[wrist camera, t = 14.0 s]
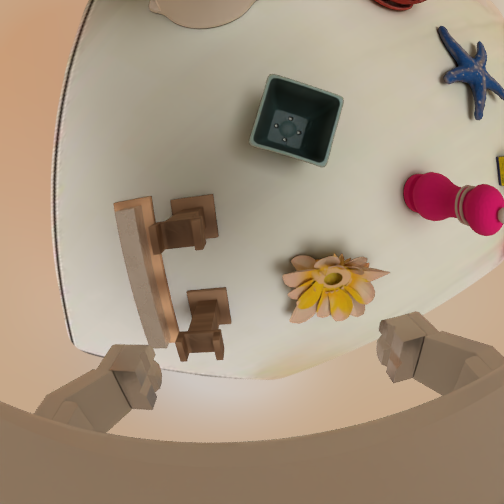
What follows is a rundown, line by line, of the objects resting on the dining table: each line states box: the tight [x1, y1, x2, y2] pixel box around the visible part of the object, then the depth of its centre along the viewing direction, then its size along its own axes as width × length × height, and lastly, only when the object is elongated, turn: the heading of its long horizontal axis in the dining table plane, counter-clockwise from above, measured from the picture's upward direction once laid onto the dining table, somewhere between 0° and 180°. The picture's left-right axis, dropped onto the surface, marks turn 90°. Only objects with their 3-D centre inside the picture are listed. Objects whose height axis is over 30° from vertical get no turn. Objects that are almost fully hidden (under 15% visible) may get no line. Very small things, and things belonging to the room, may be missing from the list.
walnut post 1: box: [148, 194, 219, 255], centre depth 33 cm, size 6×6×12 cm
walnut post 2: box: [175, 287, 231, 361], centre depth 37 cm, size 6×6×12 cm
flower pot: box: [249, 74, 344, 167], centre depth 31 cm, size 9×9×9 cm
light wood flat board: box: [114, 196, 179, 343], centre depth 41 cm, size 24×6×1 cm, turn 6°
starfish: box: [438, 26, 504, 120], centre depth 29 cm, size 19×19×5 cm
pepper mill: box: [404, 172, 504, 236], centre depth 29 cm, size 7×7×20 cm
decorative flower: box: [282, 253, 390, 323], centre depth 38 cm, size 15×11×10 cm
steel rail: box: [115, 205, 171, 348], centre depth 39 cm, size 22×3×3 cm, turn 6°
